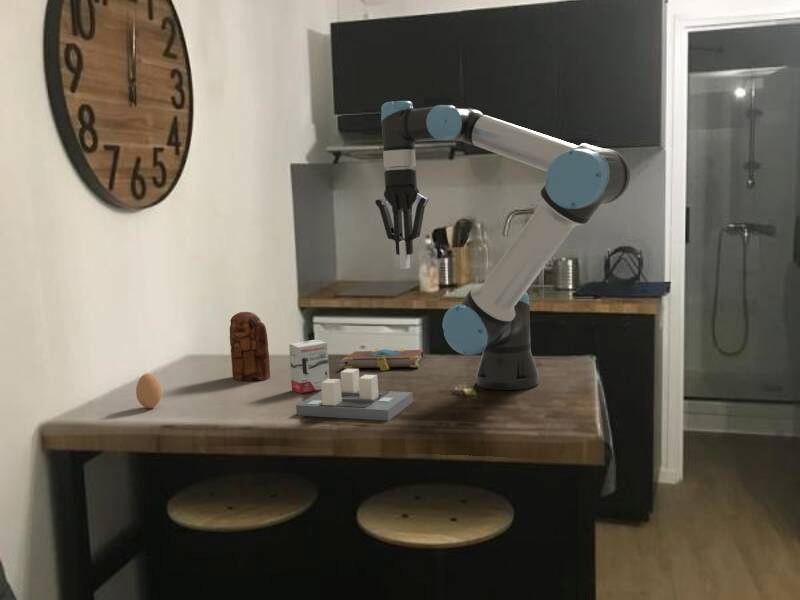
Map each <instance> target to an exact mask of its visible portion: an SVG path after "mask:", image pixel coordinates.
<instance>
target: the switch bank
mask: <svg viewBox="0 0 800 600" xmlns="http://www.w3.org/2000/svg"><path fill="white" fill-rule="evenodd" d="M378 395H379V397H377V398H376V399H360V394H359V391H358V392H342V388H341V396H342V401H341V402H340V403H338V404H336V405H322V391H321V390H320V391H319V392H317V393H315V394H314V395H312V396H310V397H309V398H307V399H305V400H303V401H301V402H298V403H297V404H296V405H295V411H296V416H302V417H307V416H308V417H321V418H322V417H323V418H337V419H354V420H355V419H356V420H371V421H384V422H385V421H390V420H391V419H392V418H394V417H396V416H397V415H398V414H399V413H400V412H402V411H403V410H404V409H406V408H407V407H409V406H410V405H411V404H413V403H414V398H413V397H414V396H413V395H414V393H413V392H412V391H390V390H378Z"/></svg>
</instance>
